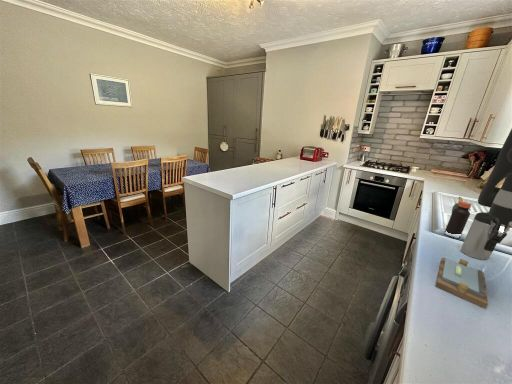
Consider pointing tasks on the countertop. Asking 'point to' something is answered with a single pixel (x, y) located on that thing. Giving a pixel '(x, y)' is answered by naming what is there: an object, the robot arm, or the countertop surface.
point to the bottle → (458, 218)
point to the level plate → (463, 276)
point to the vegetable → (457, 204)
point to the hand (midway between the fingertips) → (487, 249)
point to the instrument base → (454, 291)
